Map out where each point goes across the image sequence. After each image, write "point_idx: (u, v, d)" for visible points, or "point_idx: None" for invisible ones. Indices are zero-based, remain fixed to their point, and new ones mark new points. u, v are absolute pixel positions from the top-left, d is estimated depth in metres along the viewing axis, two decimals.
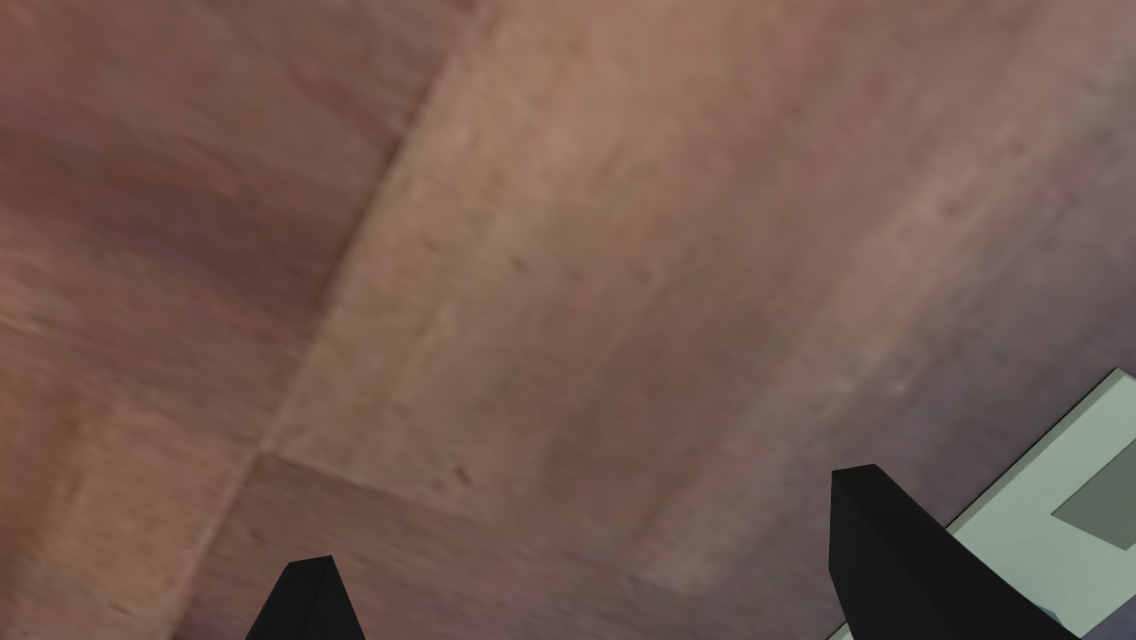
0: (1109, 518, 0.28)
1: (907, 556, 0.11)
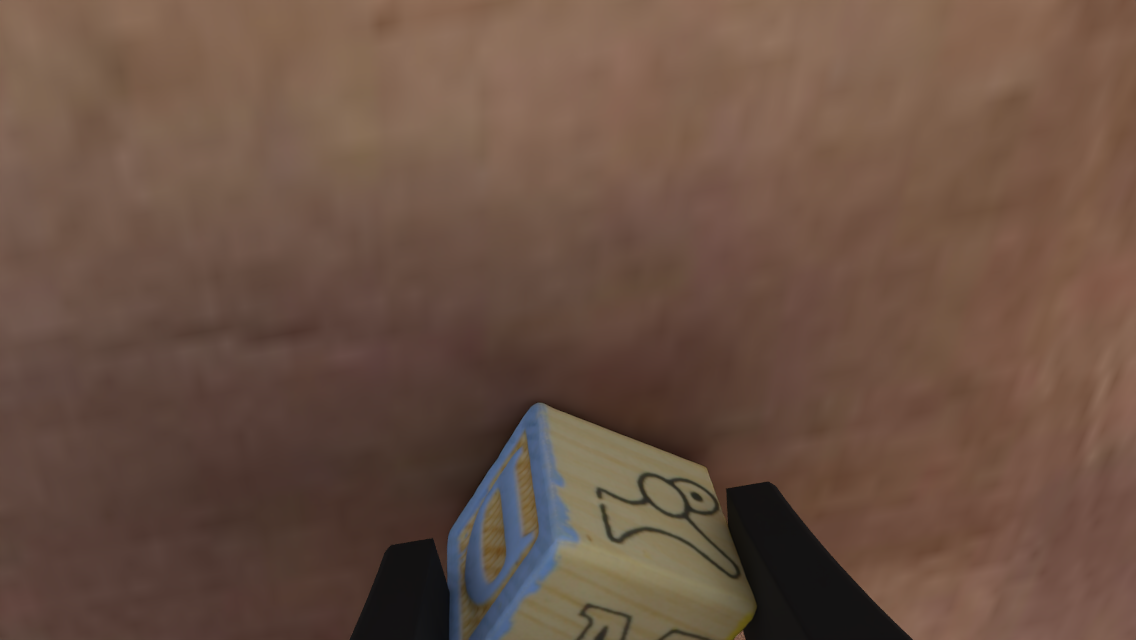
0: None
1: (782, 577, 0.11)
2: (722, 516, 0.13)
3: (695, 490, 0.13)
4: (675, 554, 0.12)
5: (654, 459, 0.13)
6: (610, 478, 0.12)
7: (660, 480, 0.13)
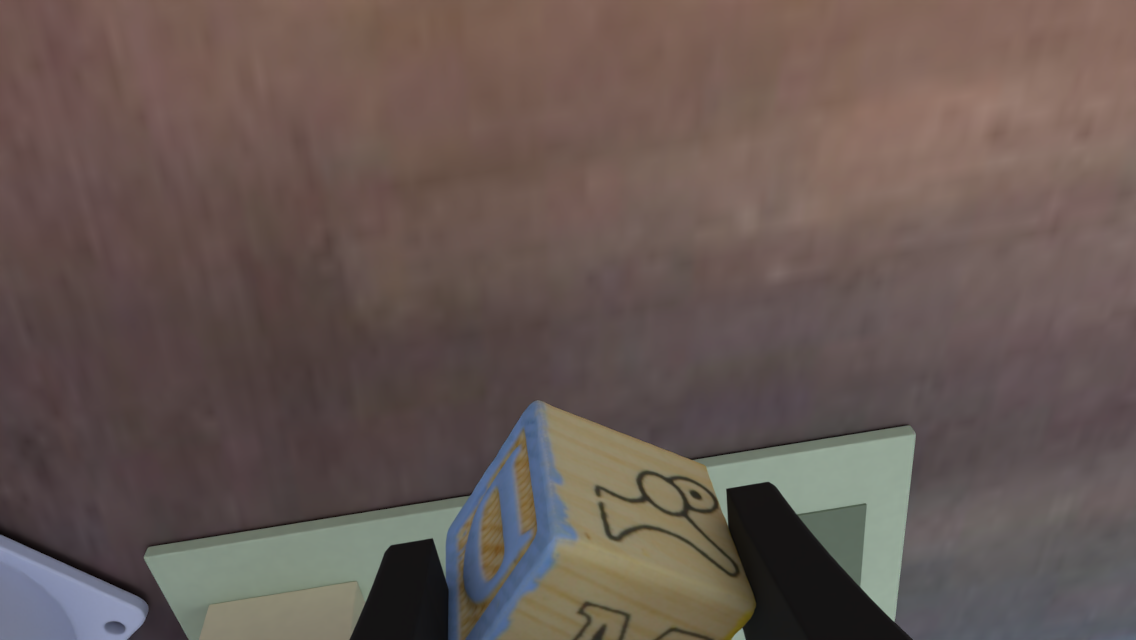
0: None
1: (782, 577, 0.11)
2: (721, 514, 0.13)
3: (694, 488, 0.13)
4: (674, 552, 0.12)
5: (653, 458, 0.13)
6: (609, 476, 0.12)
7: (659, 479, 0.13)
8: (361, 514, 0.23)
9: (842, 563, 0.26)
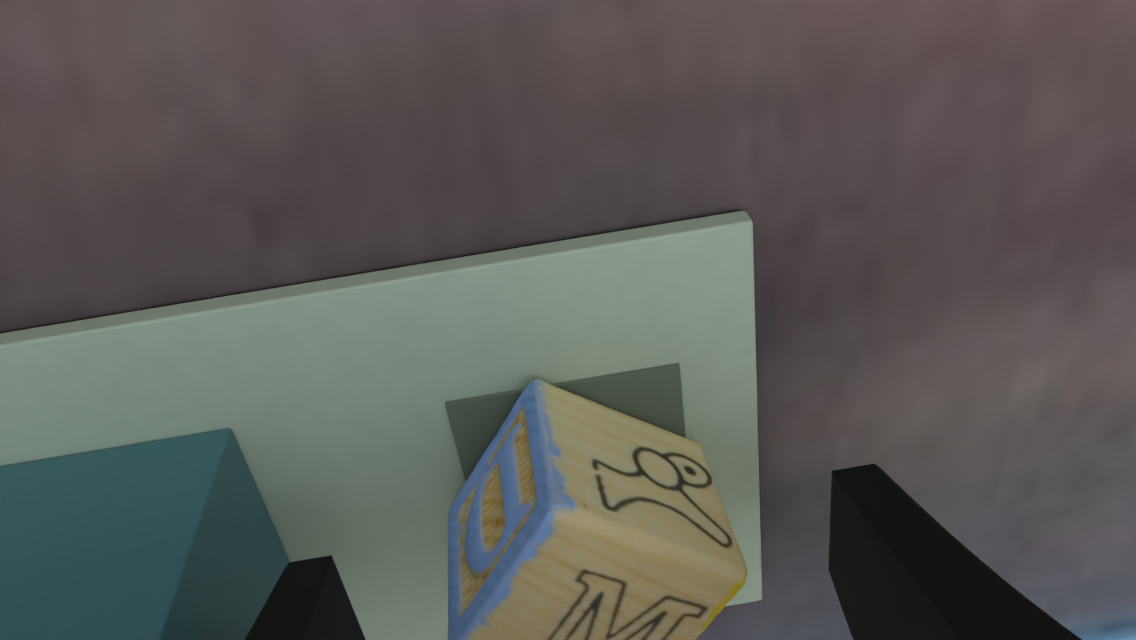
0: None
1: (907, 556, 0.11)
2: (715, 489, 0.13)
3: (688, 464, 0.14)
4: (668, 523, 0.12)
5: (649, 435, 0.14)
6: (606, 451, 0.13)
7: (655, 455, 0.13)
8: None
9: None
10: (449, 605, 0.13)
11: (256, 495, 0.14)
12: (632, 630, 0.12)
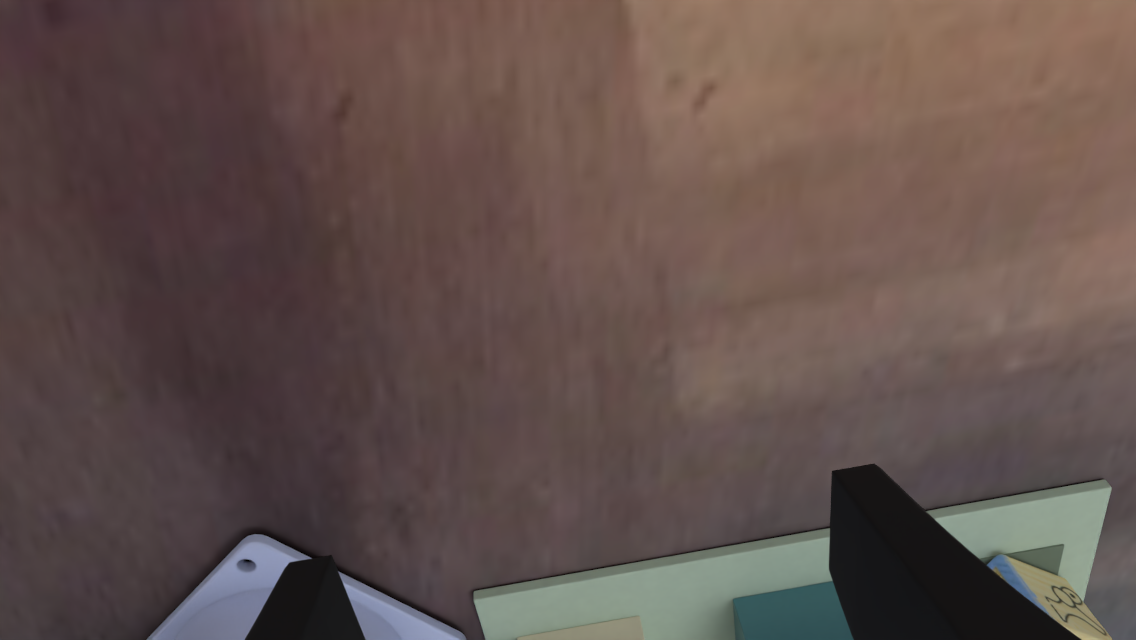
0: None
1: (907, 556, 0.11)
2: None
3: (1070, 592, 0.29)
4: (1083, 625, 0.27)
5: (1050, 578, 0.29)
6: (1045, 591, 0.28)
7: (1058, 589, 0.29)
8: (650, 561, 0.28)
9: None
10: None
11: None
12: None
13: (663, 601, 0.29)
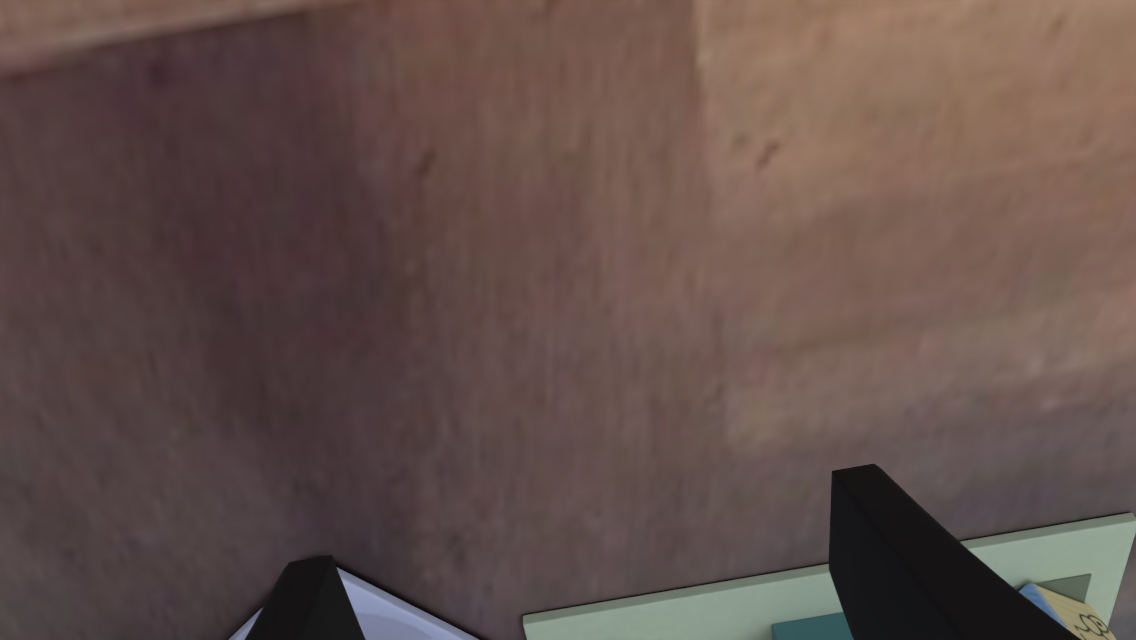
0: None
1: (907, 556, 0.11)
2: None
3: (1096, 620, 0.30)
4: None
5: (1077, 606, 0.30)
6: (1074, 619, 0.29)
7: (1085, 617, 0.30)
8: (694, 588, 0.29)
9: None
10: None
11: None
12: None
13: (705, 626, 0.30)
